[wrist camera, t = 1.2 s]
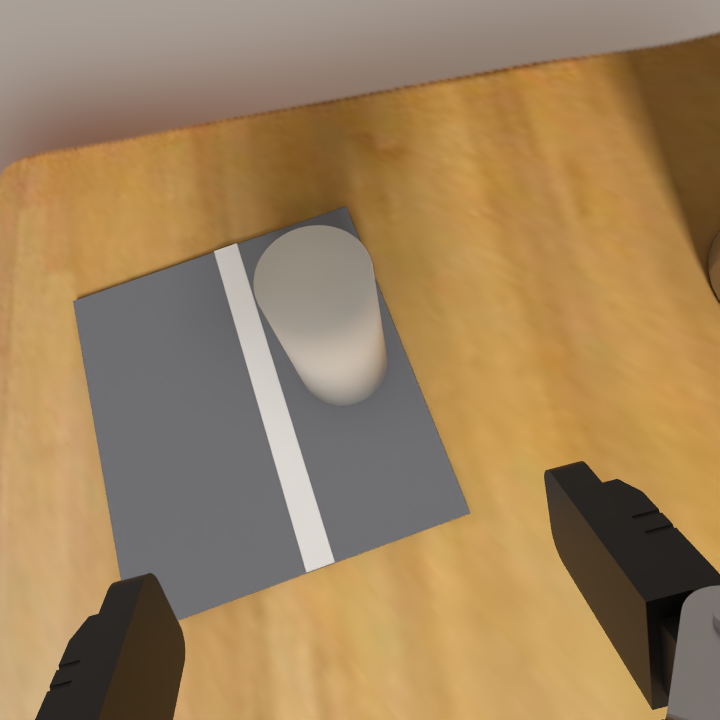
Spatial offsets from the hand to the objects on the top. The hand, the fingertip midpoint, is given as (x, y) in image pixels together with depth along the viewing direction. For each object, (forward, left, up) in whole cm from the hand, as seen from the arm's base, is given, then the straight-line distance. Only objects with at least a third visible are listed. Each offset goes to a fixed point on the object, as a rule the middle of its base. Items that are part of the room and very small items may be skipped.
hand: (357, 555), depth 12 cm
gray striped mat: (+4, -12, -19) cm, 23 cm away
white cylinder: (-1, -12, -19) cm, 22 cm away
